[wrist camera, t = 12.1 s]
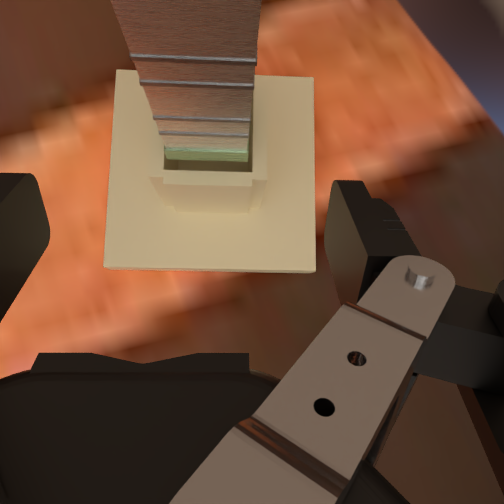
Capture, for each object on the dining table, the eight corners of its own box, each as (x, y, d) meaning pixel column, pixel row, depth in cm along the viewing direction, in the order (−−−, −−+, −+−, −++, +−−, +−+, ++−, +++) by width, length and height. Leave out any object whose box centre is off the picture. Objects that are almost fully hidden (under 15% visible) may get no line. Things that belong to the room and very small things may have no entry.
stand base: (109, 269, 30) (69, 252, 22) (121, 81, 32) (88, 8, 24) (311, 273, 30) (337, 257, 23) (309, 88, 33) (333, 20, 25)
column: (167, 159, 23) (46, -150, 8) (170, 84, 23) (66, -331, 8) (247, 161, 23) (280, -135, 8) (248, 87, 23) (280, -313, 9)
